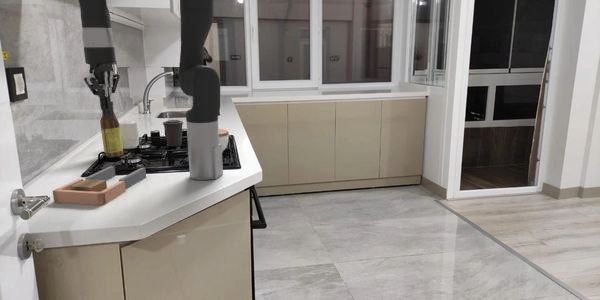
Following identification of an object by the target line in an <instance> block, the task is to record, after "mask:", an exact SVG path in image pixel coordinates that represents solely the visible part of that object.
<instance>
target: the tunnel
mask: <svg viewBox="0 0 600 300" xmlns="http://www.w3.org/2000/svg"><path fill="white" fill-rule="evenodd" d="M115 169H116V168H115V166H114V165H110V166H108V167H106V168H104V169H100V170H99V171H97V172H95V173H93V174H91V175H89V176H86V177H85V178H84V180H85V179H92V180H106V181H108V180H109V179H111V178H114V177H115V176H116V170H115ZM146 178H147V171H146V167H141V168H138V169H136V170H134V171H132V172H130V173H129V174H127V175H125V176H123V177H121V178H119V179H118V182H119V181H125V189H126V190H127V189H128V188H129V189H130V188H131V187H132V186H134V185H135V184H137V183H139V182H140V181H143V180H144V179H146Z"/></svg>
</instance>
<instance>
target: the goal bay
mask: <svg viewBox="0 0 600 300" xmlns="http://www.w3.org/2000/svg"><path fill="white" fill-rule="evenodd" d="M83 180H84V178H77V179H76V180H73V181H71V182H69V183H67V184H64V185H61V186H60V187H58V188H56V189H54V190H52V198H53V202H54V203H64V204H79V205H80V204H82V205H95V206H104V205H106V204H107V203H109V202H111V201H112V200H114V199H116V198H117V197H120V196H121V195H123V194H124V193H126V190H127V189H125V181H119V180H118V182H116V183H115V184H112V185H110V186H109V187H108V186H107V189H105V190H103V191H101V192H93V191H76V190H71V188H70V186H72V185H74V184H76V183H79V182H81V181H83Z"/></svg>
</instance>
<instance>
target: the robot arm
mask: <svg viewBox="0 0 600 300" xmlns="http://www.w3.org/2000/svg"><path fill="white" fill-rule="evenodd" d="M77 1H78V4H79V7H80V8H79V9H80V20H81V28H82V30H81V31H82V33H81V36H82V38H81V39H82V46H83V55H84V62H85V64H86V65H89V75H88V77H87V76H85V77H84V78H83V80H84V81H83V82H85V84H86V85H87V87H88V88H89V90H90V91H91V93H92V94H93V96H97V97H98V98H99V105H100V110H101V111H102V110H103V111H107V110H111V101H112V100H111V97H112V95H113V94H115V93H116V91H117V87H118V84H119V81H120V74H116V73H115V71H114V70H115V69H114V67H113V64H116V63H117V59H116V57H117V56H116V50H115V48H116V47H115V40H114V34H113V30H112V22H111V13H110V11H109V8H108V4H107V3H108V2H107V0H77ZM214 3H215V2H214V0H179V15H180V54H179V67H178V84H179V89H180V90H181V91H182V93H183V94H185V95H186V96H189V97H192V106H191V108H190V109H188V110H187V111H186V113H185V121H186V136H187V137H186V138H187V153H188V165H189V167H188V168H189V178H190V179H192V180H197V181H208V180H217V179H218V178H220V177H221V176H222V175H223V174H224V169H223V166H224V165H223V152H222V145H221V144H219V129H220V128H219V113H220V110H221V81H220V79H221V78H220V75H219V73H218V72H217V70H216V69H215V68H214V67H212V66H209V65H204V49H205V44H206V41H207V38H208V36H209V33H210V30H211V28H212V25H213V22H214V13H215V11H214V7H215V5H214Z"/></svg>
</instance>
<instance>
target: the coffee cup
mask: <svg viewBox="0 0 600 300" xmlns="http://www.w3.org/2000/svg"><path fill="white" fill-rule="evenodd" d="M183 124H184V121H183V120H179V119H169V120H166V121H163V122H162V125H163V127H164V133H165V138H166V142H167V143H166V145H167V146H168V147H180V146H182V143H183V142H182V140H183Z"/></svg>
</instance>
